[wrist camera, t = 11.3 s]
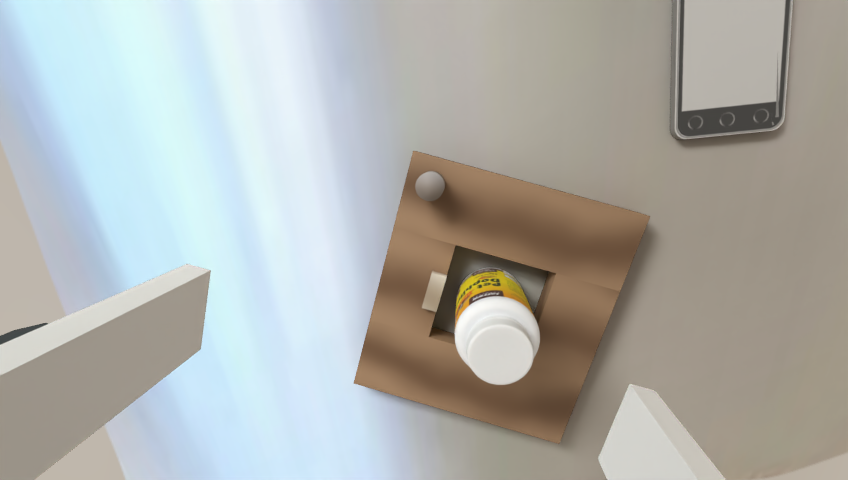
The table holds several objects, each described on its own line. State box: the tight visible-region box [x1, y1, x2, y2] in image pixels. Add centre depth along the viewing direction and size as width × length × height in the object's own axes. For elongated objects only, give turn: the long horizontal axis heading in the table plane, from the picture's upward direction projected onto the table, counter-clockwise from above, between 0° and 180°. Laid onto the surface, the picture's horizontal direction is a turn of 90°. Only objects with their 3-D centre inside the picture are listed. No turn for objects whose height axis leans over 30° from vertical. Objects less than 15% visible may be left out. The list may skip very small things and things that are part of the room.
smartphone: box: [670, 0, 793, 140], centre depth 28 cm, size 7×1×15 cm
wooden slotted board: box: [354, 151, 650, 444], centre depth 32 cm, size 20×18×4 cm
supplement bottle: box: [455, 268, 540, 385], centre depth 29 cm, size 6×6×10 cm
